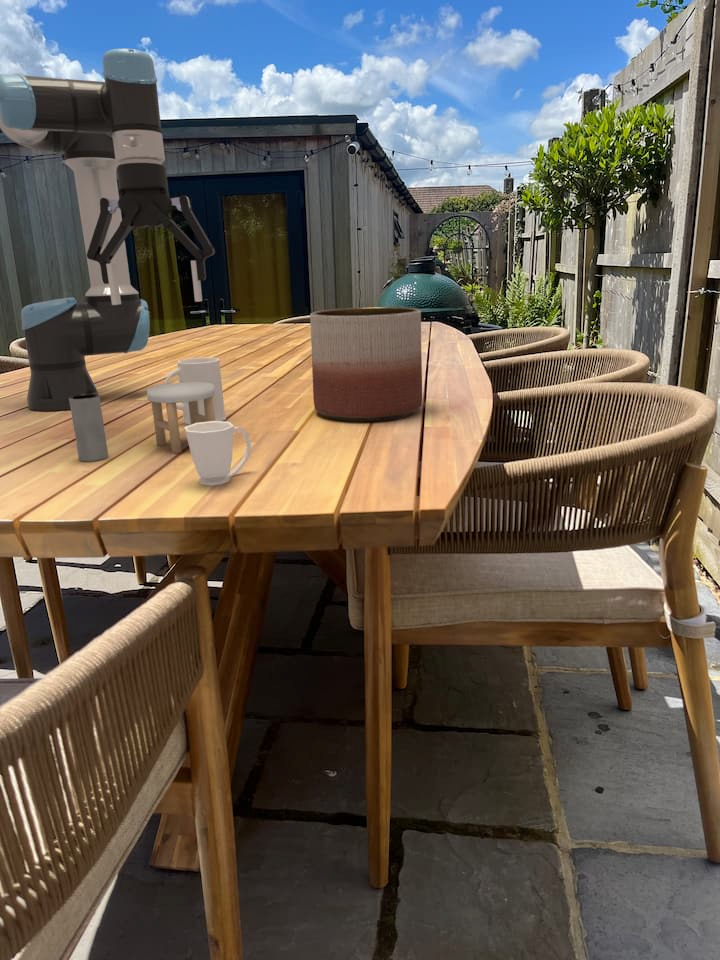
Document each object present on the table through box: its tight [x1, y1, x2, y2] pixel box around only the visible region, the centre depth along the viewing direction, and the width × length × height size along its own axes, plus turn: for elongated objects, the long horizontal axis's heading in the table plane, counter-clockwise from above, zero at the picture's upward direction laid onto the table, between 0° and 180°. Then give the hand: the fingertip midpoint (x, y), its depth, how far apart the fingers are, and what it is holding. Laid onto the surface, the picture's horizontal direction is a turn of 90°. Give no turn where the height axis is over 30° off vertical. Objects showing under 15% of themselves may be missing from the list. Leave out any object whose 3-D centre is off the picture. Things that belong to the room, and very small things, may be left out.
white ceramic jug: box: [163, 356, 227, 426], centre depth 133 cm, size 12×8×12 cm
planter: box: [309, 306, 423, 422], centre depth 136 cm, size 22×22×20 cm
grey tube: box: [69, 393, 109, 463], centre depth 110 cm, size 4×4×10 cm
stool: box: [146, 382, 215, 454], centre depth 116 cm, size 11×11×10 cm
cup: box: [183, 421, 252, 487], centre depth 98 cm, size 7×10×8 cm
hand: (157, 303), depth 114 cm, fingers open, 13 cm apart
